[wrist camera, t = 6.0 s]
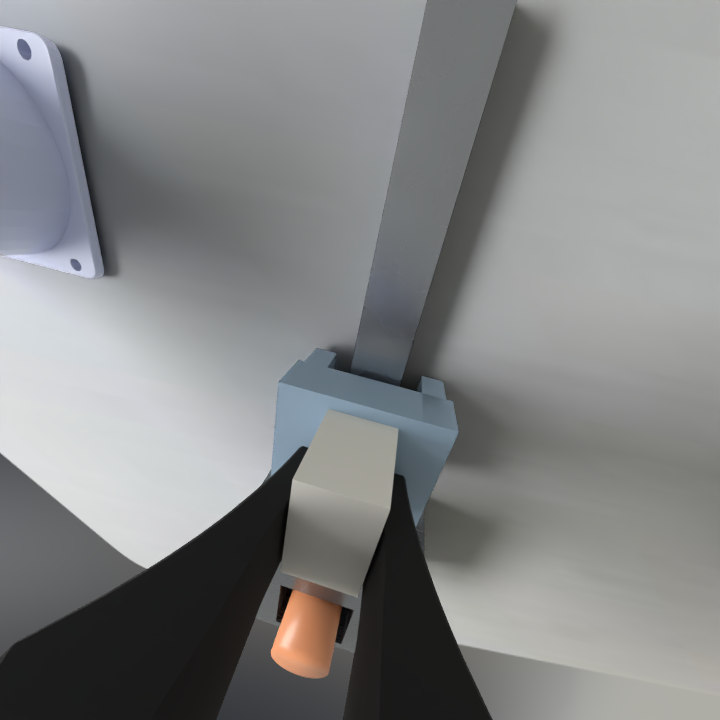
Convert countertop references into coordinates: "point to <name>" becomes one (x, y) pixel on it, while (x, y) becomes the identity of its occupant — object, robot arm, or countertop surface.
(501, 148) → the countertop surface
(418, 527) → the cabinet
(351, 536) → the carriage
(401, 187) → the rail
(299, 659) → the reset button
